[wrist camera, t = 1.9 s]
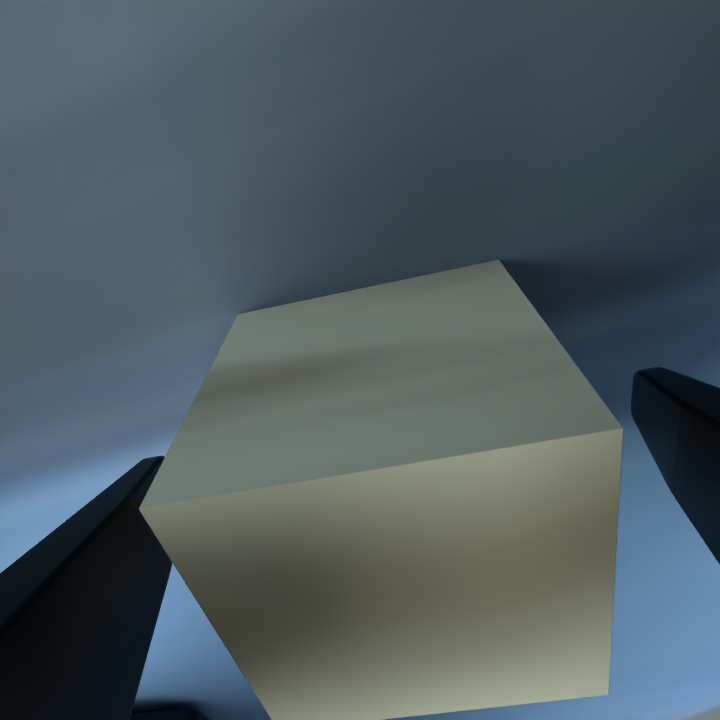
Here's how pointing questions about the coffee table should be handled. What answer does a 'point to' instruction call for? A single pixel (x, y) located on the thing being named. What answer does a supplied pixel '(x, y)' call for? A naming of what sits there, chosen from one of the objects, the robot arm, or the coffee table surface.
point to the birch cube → (399, 503)
